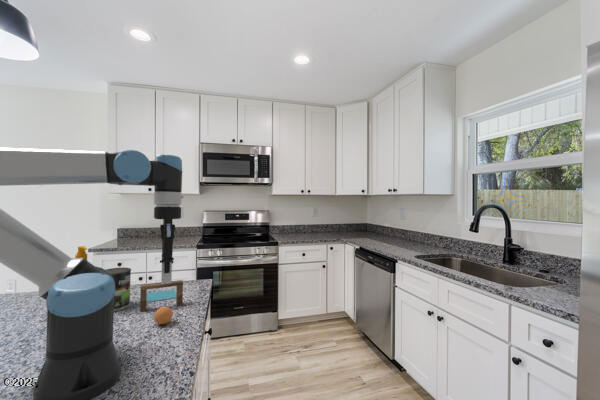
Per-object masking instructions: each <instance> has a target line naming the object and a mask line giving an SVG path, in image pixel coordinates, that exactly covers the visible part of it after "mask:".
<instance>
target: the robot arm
mask: <svg viewBox="0 0 600 400" xmlns="http://www.w3.org/2000/svg"><path fill="white" fill-rule="evenodd" d="M81 184H82V185H85V184H86V185H87V184H89V185H91V184H94V185H95V184H110V185H118V186H146V187H147V186H149V187H154V193H153V195H154V196H153V197H154V198H153V204H154V205H155V206H154V208H153V218H154V219H155V220H163V221H162V224H159V225H160V226H159V227H160V228H159V229H160V238H161V241H162V242H161V260H159V264H161V275H160V276H161V279H160V280H161V281H160V282H161V284H166V283H171V281H173V280H172V279H173V278H172V277H173V276H172V275H173V274H172V272H173V271H172V270H173V268H172V267H173V261H174V259H175V258H174V257H173V254H174V253H173V247H174V240H175V230H176V225H175V224H173V220H180V219H181V218H182V207H181V205H182V199H184V198H185V197H184V196H185V195H182V191H183V189H182V187H183V160H182V158H181V157H179V156H177V155H173V154H157V155H155V158H154V160H149V157H147V156H146V154H144V153H143V152H141V151H139V150H133V149H127V150H124V151H105V150H104V151H101V150H100V151H99V150H98V151H97V150H73V149H71V150H70V149H69V150H68V149H66V150H65V149H45V148H43V149H42V148H40V149H39V148H18V147H17V148H13V147H0V187H2V186H3V187H4V186H39V185H40V186H44V185H46V186H48V185H81ZM0 264H2V265H3V266H5V267H7V268H9V269H10V270H12V271H13V272H15V273H17V274H18V275H20V276H21V277H23V278H24V279H26V280H28V281H29V282H30V283H32V284H34V285H36V286H37V287H38V296H39V297H40V298H42V299H44V300H45V304H46V308H47V309H46V337H45V338H46V342H45V346H46V347H45V348H46V349H45V350H46V352H45V360H44V363H43V364H42V367H41V370H40V372H39V375H38V378H37V380H36V382H35V384H34V386H33V390H32V391H33V394H32V400H91V399H93V398H95V397H96V396H99V395H100V394H103V392H105V391H107V390H108V389H110V388H111V387H112V386H113V385H114V384H115V383H116V382H117V381H118V379H120V376H121V372H122V360H121V358H120V357H119V354H118V352H117V349H116V346H115V343H114V315H115V314H114V313H115V311H114V294H115V281H114V279H113V277H112V275H111V274H110V273H109V272H108V271H107V270H106V269H105V268H102V267H99V266H95V265H94V264H93V263H91V262H90V261H88V259H87V260H85V259H84V258H75V257H70V256H69V255H68V254H67V253H65V252H63V251H62V250H60V249H59V248H58V247H56V246H55V245H53V244H52V243H50V241H48V240H46V239H45V238H44V237H42V236H40V235H39V234H37V233H36V232H35V231H33V230H32V229H30V228H29V227H27V226H26V225H25V224H23V223H22V222H20V221H19V220H18V219H16V218H14V217H13V216H12V215H11V214H9V213H8V212H6V211H5V210H3V209H1V208H0Z"/></svg>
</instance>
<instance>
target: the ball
mask: <svg viewBox="0 0 600 400" xmlns="http://www.w3.org/2000/svg"><path fill="white" fill-rule="evenodd" d="M173 313H174V311H173V310H172V309H171V308H170V307H168V306H161V307H160V308H157V310H156V311H155V313H154V322H155V323H156V324H158V325H166V324H169V322H171V320H172V319H173V316H174V315H173Z"/></svg>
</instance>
